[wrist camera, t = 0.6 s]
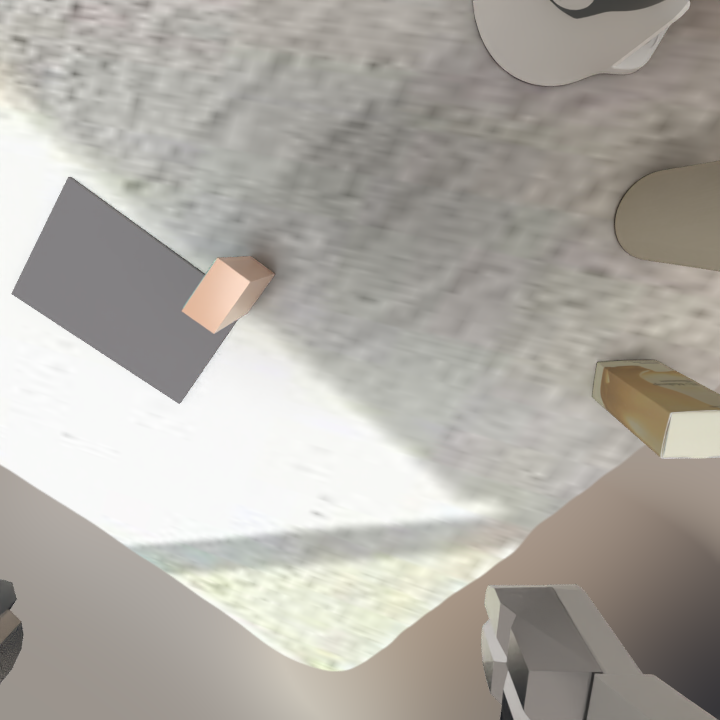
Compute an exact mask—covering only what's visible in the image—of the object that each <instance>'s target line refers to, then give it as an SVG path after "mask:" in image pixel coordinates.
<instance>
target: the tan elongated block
mask: <svg viewBox="0 0 720 720" xmlns="http://www.w3.org/2000/svg"><path fill="white" fill-rule="evenodd" d="M274 275H275V274H274V273H273V272H272V271H270V270H269V269H268V268H266V267H265V266H264V265H262V264H261V263H260V262H258V261H257V260H256V259H254V258H253V257H252V256H242V257H221V258H217V259H215V261H214V262H213V264H212V265H211V267H210V268H209V270H208V271H207V273H206V274H205V276H204V277H203V279H202V280H201V282H200V283H199V285H198V286H197V288H196V289H195V291H194V292H193V294H192V295H191V296H190V298H189V299H188V301H187V302H186V304H185V305H184V307H183V310H182V312H184V313H185V314H186V315H188V316H189V317H191V318H192V319H193V320H195V321H196V322H198V323H199V324H201V325H202V326H203V327H205V328H206V329H208V330H209V331H211V332H212V333H213V334H215V333H216V332H218V331H219V330H221V329H223V328H224V327H226V326H228V325H229V324H231V323H233V322H234V321H236V320H237V319H239V318H241V317H242V316H244V315H246V314H247V313H248V312H249V310H250V309H251V308H252V306H253V305H254V303H255V302H256V301H257V299H258V298H259V296H260V295H261V294H262V292H263V291H264V289H265V288H266V287H267V285H268V284H269V282H270V281H271V279H272V278H273V277H274Z"/></svg>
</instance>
